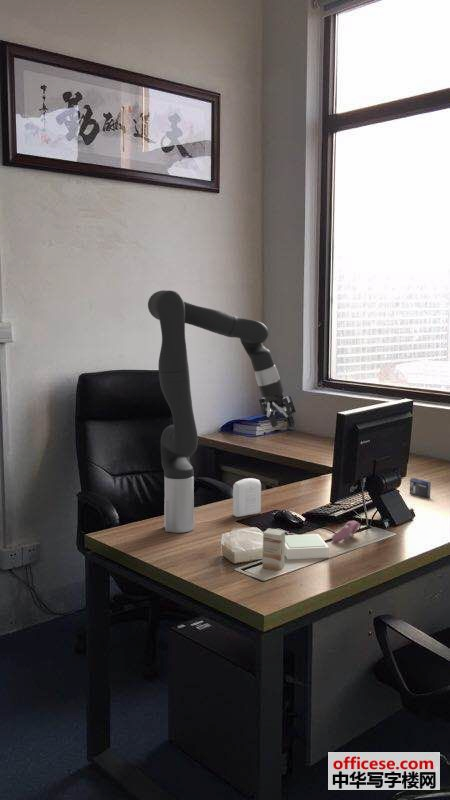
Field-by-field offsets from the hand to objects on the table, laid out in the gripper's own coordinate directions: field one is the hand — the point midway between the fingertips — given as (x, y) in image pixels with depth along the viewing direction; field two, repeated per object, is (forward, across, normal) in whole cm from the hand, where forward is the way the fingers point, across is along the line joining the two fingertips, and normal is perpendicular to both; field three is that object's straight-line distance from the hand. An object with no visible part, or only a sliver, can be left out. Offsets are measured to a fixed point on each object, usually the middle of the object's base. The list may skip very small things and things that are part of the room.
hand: (283, 426), depth 240 cm
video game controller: (+33, +25, -10) cm, 43 cm away
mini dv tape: (+48, +5, +47) cm, 67 cm away
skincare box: (+24, +30, -41) cm, 56 cm away
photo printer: (+26, -13, -16) cm, 33 cm away
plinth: (+28, +26, -27) cm, 46 cm away
